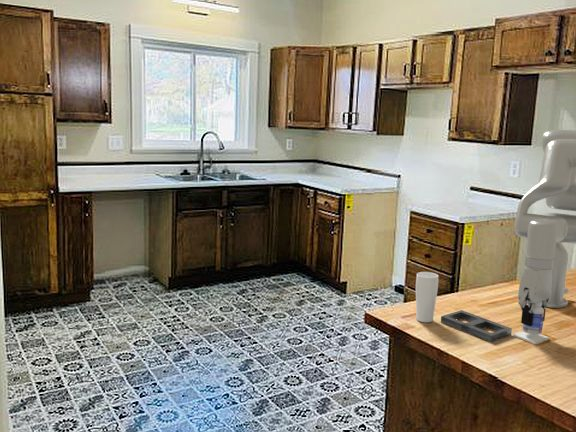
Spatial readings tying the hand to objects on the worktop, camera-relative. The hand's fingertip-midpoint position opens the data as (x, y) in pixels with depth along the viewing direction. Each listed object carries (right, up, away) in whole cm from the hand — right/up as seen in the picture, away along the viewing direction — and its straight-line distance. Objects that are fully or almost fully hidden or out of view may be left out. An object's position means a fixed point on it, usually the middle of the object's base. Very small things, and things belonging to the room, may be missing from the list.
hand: (532, 321), depth 158 cm
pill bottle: (0, -3, +1) cm, 3 cm away
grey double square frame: (-14, -3, +7) cm, 16 cm away
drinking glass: (-28, -2, +13) cm, 31 cm away
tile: (0, -5, +1) cm, 5 cm away
